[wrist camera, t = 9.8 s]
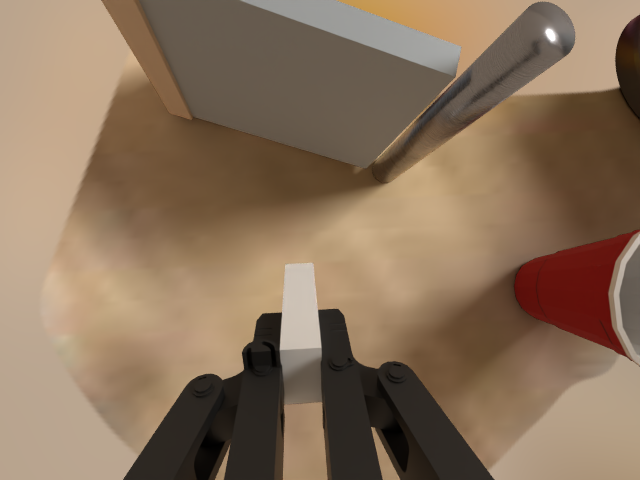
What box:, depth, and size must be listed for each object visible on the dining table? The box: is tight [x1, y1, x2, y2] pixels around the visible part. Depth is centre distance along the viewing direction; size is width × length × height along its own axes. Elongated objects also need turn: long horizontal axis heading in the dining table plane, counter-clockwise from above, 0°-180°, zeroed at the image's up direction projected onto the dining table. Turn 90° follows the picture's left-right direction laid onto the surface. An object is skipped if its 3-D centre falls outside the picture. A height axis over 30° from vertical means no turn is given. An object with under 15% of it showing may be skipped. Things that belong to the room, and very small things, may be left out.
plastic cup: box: [514, 230, 640, 367], centre depth 26 cm, size 11×11×12 cm
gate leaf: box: [101, 0, 461, 169], centre depth 21 cm, size 17×2×15 cm, turn 76°
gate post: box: [372, 2, 575, 183], centre depth 22 cm, size 2×2×18 cm
